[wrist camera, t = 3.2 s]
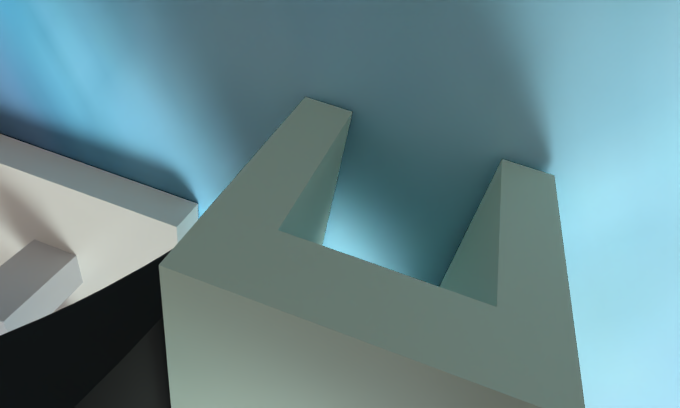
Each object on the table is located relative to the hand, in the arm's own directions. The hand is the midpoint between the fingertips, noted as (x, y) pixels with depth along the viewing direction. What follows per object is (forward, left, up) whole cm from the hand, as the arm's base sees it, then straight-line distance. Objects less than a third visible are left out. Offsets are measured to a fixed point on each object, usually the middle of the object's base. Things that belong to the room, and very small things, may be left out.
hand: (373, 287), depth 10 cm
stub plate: (-6, +9, -2) cm, 11 cm away
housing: (0, 0, -1) cm, 1 cm away
